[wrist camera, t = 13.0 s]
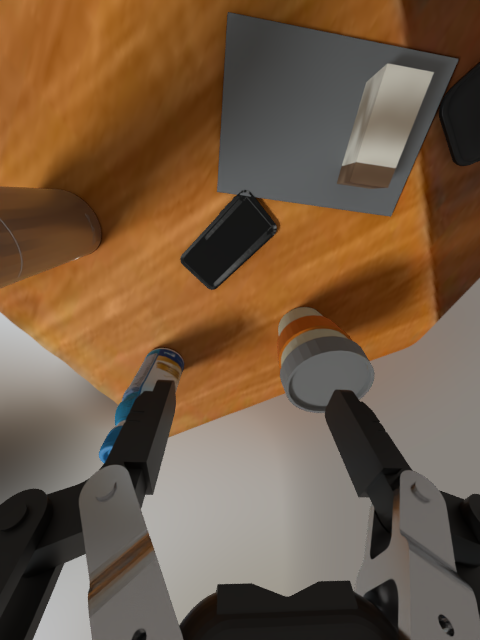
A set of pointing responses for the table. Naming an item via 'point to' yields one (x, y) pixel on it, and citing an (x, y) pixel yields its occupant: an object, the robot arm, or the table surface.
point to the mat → (308, 112)
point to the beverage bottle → (144, 388)
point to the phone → (229, 240)
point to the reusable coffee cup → (319, 360)
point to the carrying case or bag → (463, 118)
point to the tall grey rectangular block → (383, 125)
